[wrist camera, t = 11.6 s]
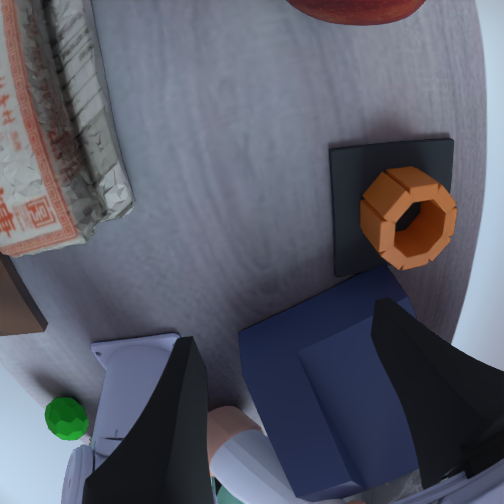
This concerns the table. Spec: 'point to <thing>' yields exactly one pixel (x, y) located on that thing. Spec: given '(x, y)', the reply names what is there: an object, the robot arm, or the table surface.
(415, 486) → the helmet
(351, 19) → the apple
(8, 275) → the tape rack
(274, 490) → the pepper shaker
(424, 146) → the rubber pad
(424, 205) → the orange grooved ring
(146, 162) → the table surface
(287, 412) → the phone stand
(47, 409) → the polyhedron
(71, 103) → the packaged product
